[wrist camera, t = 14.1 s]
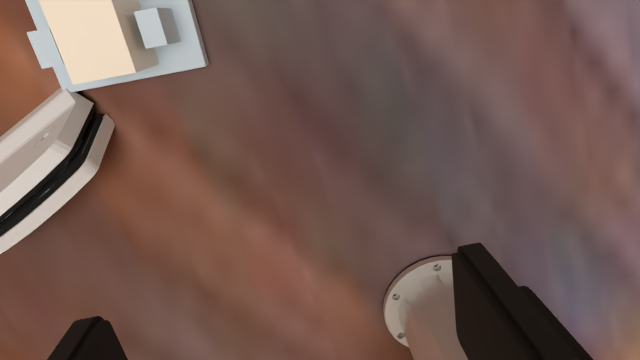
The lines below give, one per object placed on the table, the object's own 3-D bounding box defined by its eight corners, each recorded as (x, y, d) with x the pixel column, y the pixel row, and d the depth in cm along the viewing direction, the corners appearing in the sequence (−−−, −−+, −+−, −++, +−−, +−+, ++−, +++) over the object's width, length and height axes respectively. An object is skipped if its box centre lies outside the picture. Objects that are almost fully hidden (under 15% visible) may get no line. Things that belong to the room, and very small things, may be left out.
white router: (73, 76, 35) (44, 137, 27) (119, 114, 38) (104, 178, 30) (-58, 184, 38) (-118, 267, 30) (-6, 212, 41) (-48, 293, 33)
